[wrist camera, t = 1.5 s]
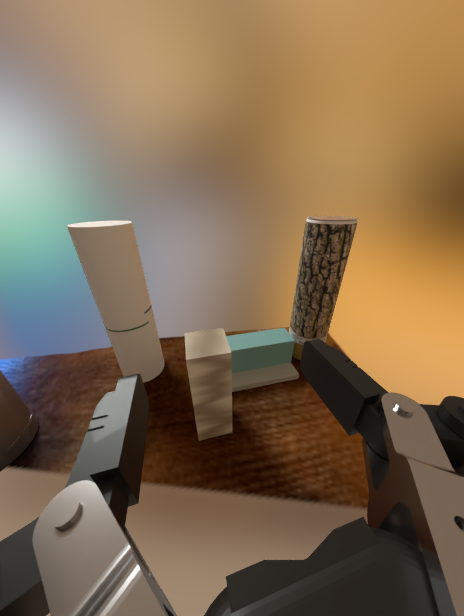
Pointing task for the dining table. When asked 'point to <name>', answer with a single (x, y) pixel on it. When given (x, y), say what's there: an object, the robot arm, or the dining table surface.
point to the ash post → (210, 381)
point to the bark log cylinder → (319, 277)
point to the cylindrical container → (120, 293)
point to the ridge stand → (261, 358)
